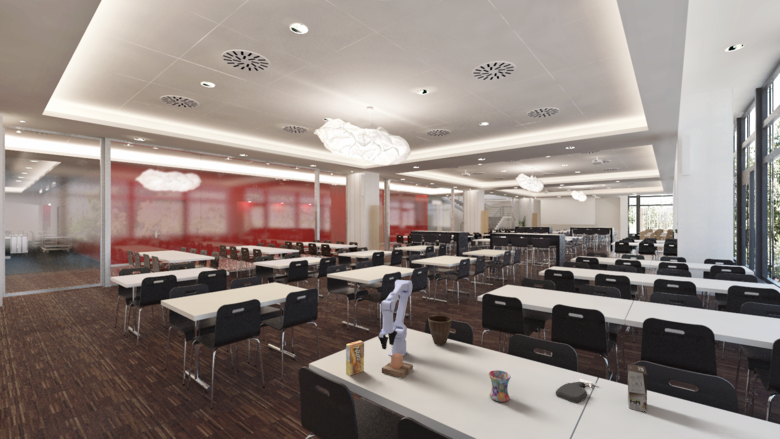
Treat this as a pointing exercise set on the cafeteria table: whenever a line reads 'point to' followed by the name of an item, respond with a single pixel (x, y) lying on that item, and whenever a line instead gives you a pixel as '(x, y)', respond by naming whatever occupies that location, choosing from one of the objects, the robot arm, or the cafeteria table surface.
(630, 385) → the coffee box
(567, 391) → the spray bottle
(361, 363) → the candy box
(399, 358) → the terracotta block
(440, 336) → the plant pot
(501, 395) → the mug
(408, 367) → the walnut base
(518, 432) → the cafeteria table surface
